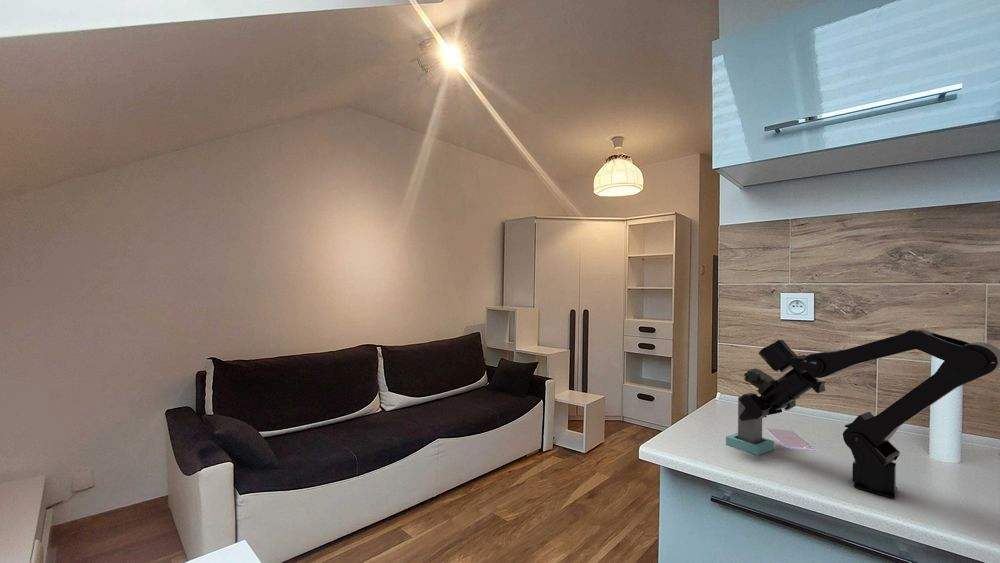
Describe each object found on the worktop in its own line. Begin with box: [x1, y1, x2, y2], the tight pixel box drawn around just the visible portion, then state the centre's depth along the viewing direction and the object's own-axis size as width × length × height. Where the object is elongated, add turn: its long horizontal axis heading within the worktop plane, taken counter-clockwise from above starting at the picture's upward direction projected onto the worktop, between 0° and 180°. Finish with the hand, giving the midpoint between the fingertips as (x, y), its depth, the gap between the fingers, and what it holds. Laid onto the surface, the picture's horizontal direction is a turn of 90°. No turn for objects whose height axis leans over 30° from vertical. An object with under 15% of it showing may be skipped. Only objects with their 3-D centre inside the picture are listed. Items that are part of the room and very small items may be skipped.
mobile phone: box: [765, 428, 817, 452], centre depth 118 cm, size 8×1×15 cm
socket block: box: [725, 432, 775, 456], centre depth 112 cm, size 8×8×2 cm
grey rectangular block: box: [737, 395, 763, 445], centre depth 112 cm, size 4×4×12 cm
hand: (745, 417), depth 113 cm, fingers closed on grey rectangular block, 4 cm apart
